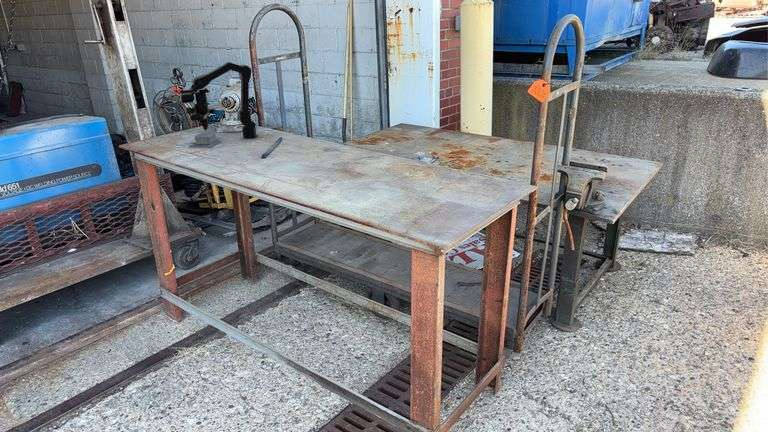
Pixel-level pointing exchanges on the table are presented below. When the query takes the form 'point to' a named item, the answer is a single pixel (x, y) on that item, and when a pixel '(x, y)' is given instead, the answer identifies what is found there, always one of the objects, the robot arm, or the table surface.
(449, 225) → the table surface
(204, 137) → the medicine box
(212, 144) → the slate mat
